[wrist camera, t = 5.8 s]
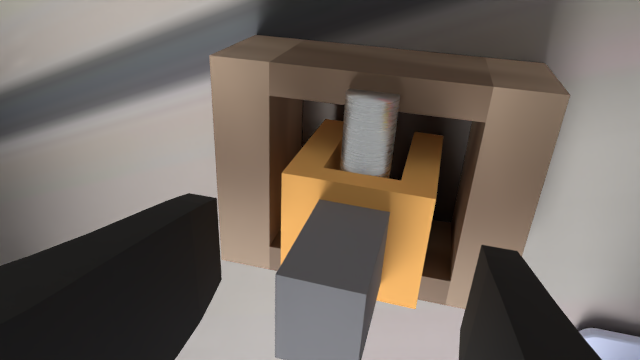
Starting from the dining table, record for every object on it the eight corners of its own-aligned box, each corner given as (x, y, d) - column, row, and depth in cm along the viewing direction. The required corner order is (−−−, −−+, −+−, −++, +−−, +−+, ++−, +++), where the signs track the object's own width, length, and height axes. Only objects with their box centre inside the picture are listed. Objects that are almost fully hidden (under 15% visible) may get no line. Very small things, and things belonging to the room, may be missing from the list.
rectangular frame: (495, 251, 15) (506, 339, 12) (258, 210, 16) (209, 276, 13) (545, 63, 12) (579, 107, 9) (255, 34, 14) (193, 62, 10)
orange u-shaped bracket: (427, 226, 14) (401, 410, 9) (320, 206, 15) (233, 363, 9) (443, 135, 13) (426, 282, 7) (325, 119, 14) (226, 240, 8)
